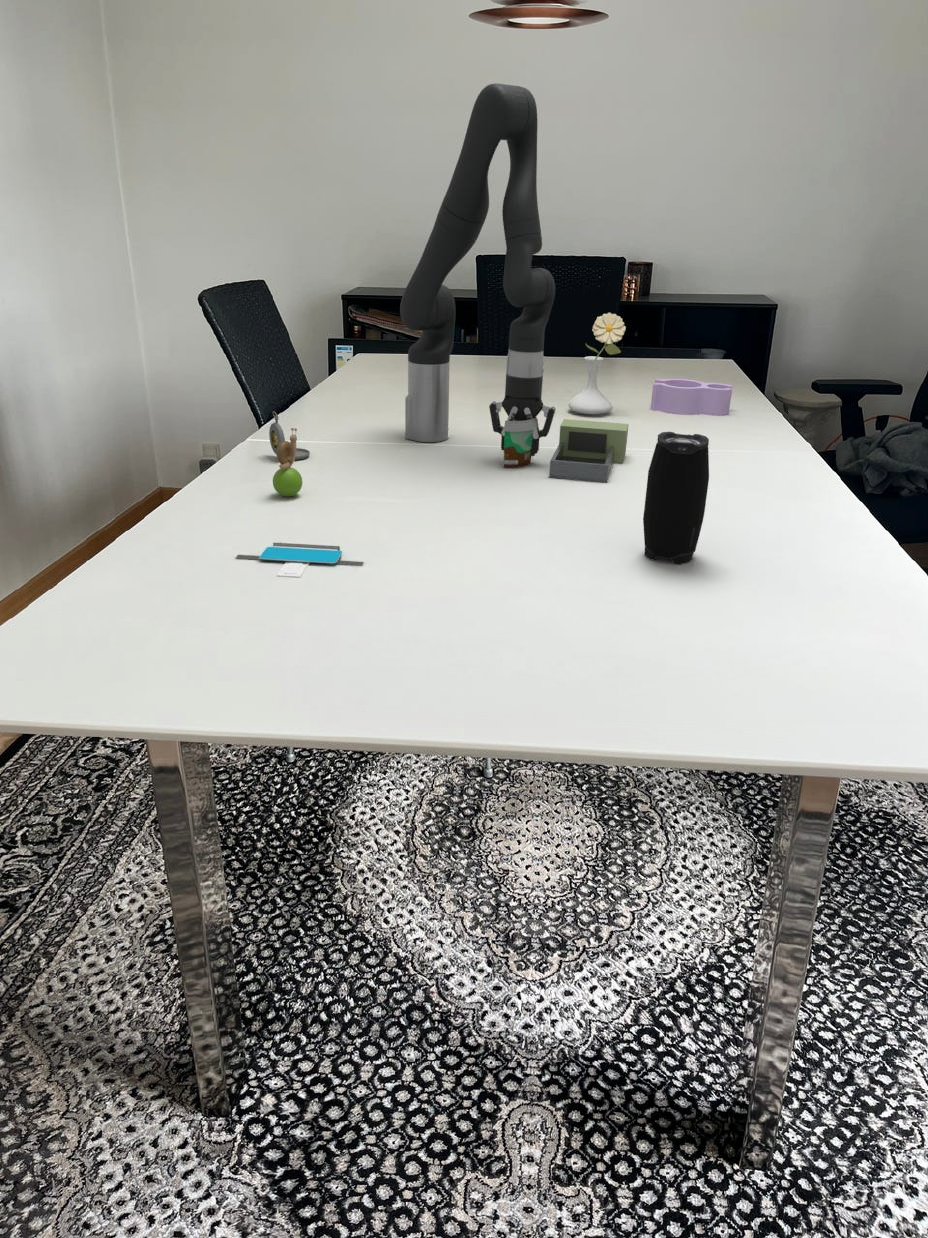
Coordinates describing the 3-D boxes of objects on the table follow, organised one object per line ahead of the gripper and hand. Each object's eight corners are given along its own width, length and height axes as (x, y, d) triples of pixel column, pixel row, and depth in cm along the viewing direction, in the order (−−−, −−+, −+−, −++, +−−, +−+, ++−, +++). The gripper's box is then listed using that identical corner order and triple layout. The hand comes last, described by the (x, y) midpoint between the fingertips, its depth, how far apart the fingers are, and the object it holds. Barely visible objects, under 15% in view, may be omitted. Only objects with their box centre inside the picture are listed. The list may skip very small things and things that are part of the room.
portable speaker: (631, 548, 158) (643, 431, 150) (683, 545, 161) (698, 429, 152) (653, 567, 151) (667, 445, 143) (707, 563, 153) (724, 442, 145)
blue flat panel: (223, 576, 145) (222, 566, 144) (246, 548, 156) (245, 539, 155) (354, 584, 143) (354, 574, 143) (368, 555, 154) (368, 546, 154)
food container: (531, 471, 197) (534, 423, 193) (502, 469, 199) (504, 421, 194) (539, 456, 208) (542, 410, 204) (511, 454, 210) (514, 408, 205)
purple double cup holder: (728, 409, 257) (732, 382, 254) (728, 419, 246) (732, 392, 243) (653, 402, 262) (656, 376, 259) (649, 412, 251) (652, 385, 248)
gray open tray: (549, 477, 194) (550, 460, 193) (559, 457, 208) (560, 441, 206) (606, 482, 192) (608, 465, 190) (612, 462, 206) (614, 446, 204)
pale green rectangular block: (557, 458, 207) (560, 426, 205) (561, 450, 214) (564, 418, 211) (623, 463, 205) (626, 431, 202) (625, 455, 211) (628, 423, 208)
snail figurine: (310, 491, 182) (307, 429, 176) (294, 501, 176) (291, 437, 171) (285, 488, 183) (281, 426, 178) (268, 498, 178) (264, 433, 172)
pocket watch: (316, 455, 205) (314, 408, 200) (293, 464, 198) (291, 416, 194) (283, 450, 208) (281, 403, 204) (260, 459, 201) (257, 411, 197)
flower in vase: (562, 414, 245) (569, 312, 235) (574, 405, 255) (581, 307, 244) (612, 420, 241) (621, 316, 230) (622, 411, 250) (632, 311, 240)
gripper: (486, 372, 194) (482, 455, 201) (557, 378, 191) (550, 461, 198) (493, 366, 200) (489, 446, 208) (562, 371, 198) (555, 452, 205)
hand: (519, 453), depth 203 cm, fingers closed on food container, 5 cm apart
